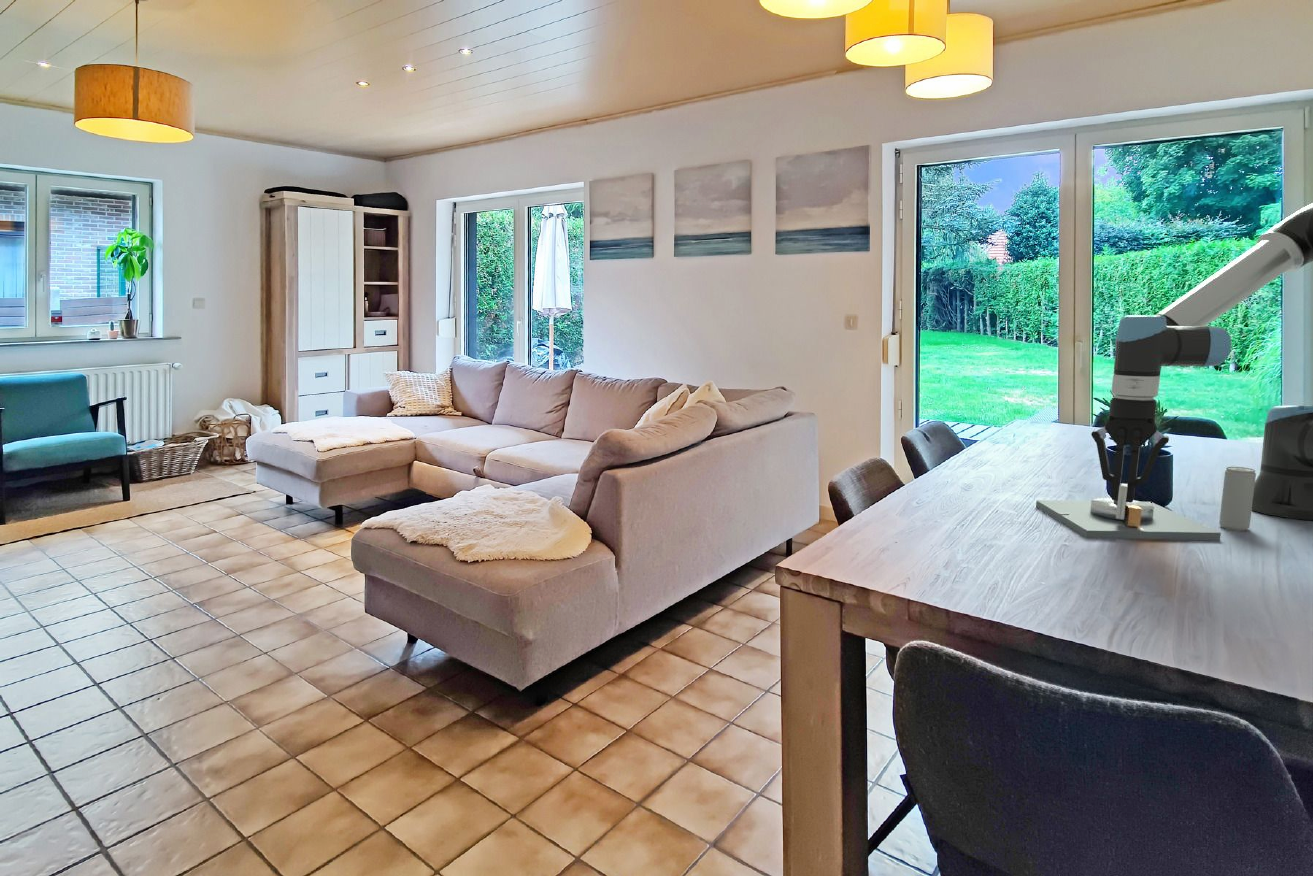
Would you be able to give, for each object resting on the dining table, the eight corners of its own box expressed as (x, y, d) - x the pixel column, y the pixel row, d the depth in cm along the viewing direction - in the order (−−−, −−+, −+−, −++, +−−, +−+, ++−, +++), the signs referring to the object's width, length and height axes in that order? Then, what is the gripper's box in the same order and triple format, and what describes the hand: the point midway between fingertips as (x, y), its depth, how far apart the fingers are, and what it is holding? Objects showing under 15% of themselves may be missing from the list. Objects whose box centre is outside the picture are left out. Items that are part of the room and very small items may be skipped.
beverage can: (1254, 532, 147) (1261, 471, 145) (1226, 530, 148) (1233, 471, 146) (1240, 525, 152) (1247, 466, 150) (1213, 524, 153) (1220, 466, 151)
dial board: (1149, 508, 165) (1150, 500, 165) (1220, 540, 142) (1221, 531, 142) (1035, 506, 168) (1036, 498, 167) (1085, 538, 144) (1086, 529, 144)
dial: (1085, 505, 161) (1086, 489, 161) (1144, 509, 158) (1146, 492, 157) (1101, 524, 147) (1103, 506, 146) (1167, 528, 143) (1168, 510, 143)
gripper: (1092, 396, 144) (1080, 516, 148) (1173, 401, 137) (1158, 527, 141) (1097, 393, 150) (1085, 508, 154) (1175, 397, 143) (1160, 518, 147)
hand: (1120, 517), depth 147 cm, fingers closed
